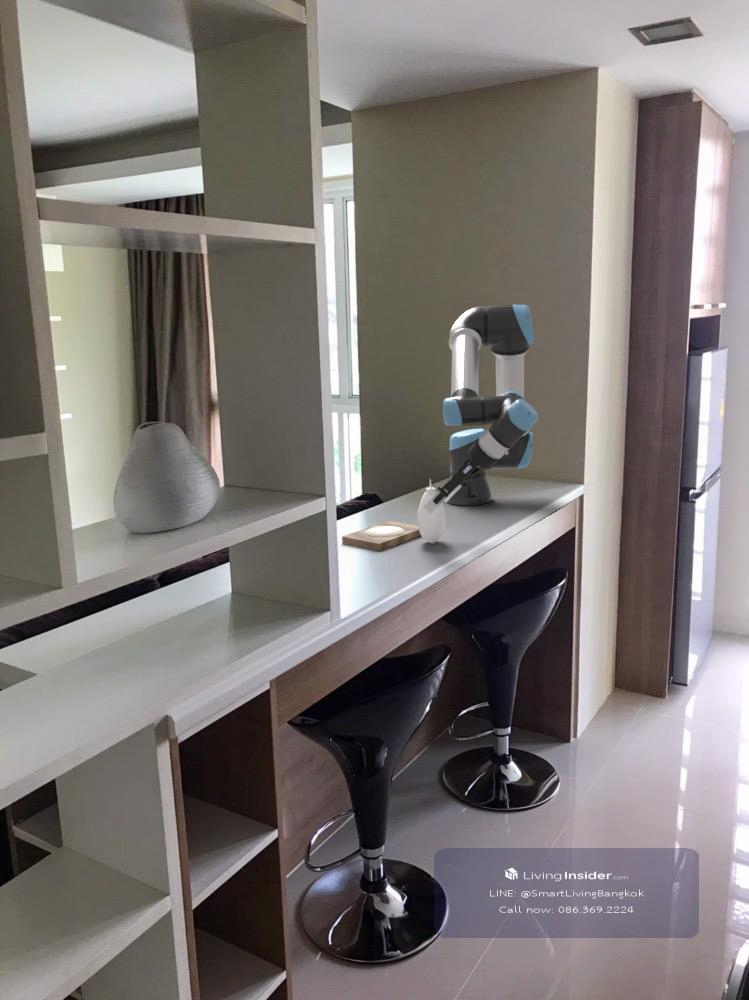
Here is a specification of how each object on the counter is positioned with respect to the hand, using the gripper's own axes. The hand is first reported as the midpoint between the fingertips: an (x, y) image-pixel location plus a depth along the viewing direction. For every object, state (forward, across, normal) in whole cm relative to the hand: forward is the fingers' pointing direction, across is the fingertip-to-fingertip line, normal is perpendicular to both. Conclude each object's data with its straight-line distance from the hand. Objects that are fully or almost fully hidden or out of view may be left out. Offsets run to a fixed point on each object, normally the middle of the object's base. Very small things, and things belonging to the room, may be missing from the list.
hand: (435, 504), depth 225 cm
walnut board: (+19, +2, +4) cm, 20 cm away
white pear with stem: (+9, +1, -7) cm, 11 cm away
